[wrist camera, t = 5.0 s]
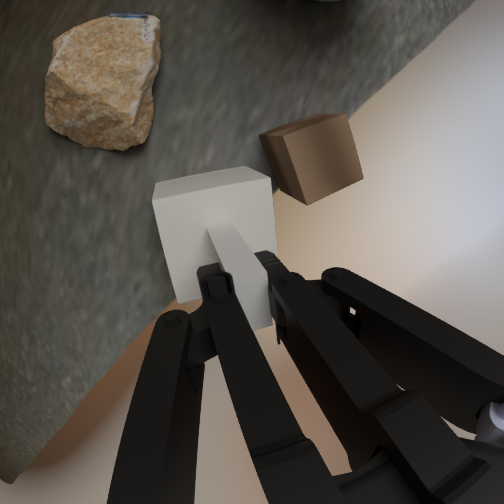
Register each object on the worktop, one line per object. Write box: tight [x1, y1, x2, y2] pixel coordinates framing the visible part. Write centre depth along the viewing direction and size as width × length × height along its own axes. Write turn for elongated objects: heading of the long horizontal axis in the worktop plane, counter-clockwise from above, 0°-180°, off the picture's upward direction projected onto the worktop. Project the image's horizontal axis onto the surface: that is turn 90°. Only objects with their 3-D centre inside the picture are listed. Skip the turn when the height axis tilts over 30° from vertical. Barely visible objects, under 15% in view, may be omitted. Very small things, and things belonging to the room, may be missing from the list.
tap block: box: [152, 166, 278, 304], centre depth 20 cm, size 7×7×6 cm
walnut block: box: [259, 114, 363, 205], centre depth 21 cm, size 5×5×5 cm
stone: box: [45, 12, 162, 151], centre depth 15 cm, size 8×10×4 cm
